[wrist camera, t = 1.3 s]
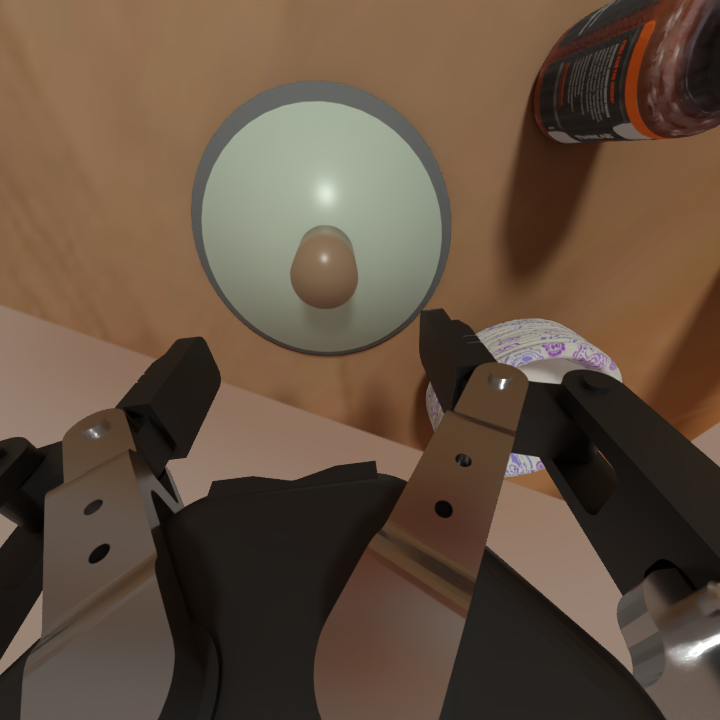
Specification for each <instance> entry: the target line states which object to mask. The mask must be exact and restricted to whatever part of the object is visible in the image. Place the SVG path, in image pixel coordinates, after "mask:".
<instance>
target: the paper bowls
mask: <svg viewBox="0 0 720 720" xmlns="http://www.w3.org/2000/svg"><path fill="white" fill-rule="evenodd" d="M475 335H477V337H478V338H479V339H480V340H481V342H482V343H483V344H484V345H485V347H486V348H487V349H488V350H489V352H490V353H491V354H492V355H493V357H494V358H495V359H496V360H497V362H498V363H504V364H508V365H511V366H514V367H516V368H518V369H519V370H521V371H522V372H523V373H524V374H525V375H526V376H527V378H528V381H534V382H543V383H554V384H561V381H562V379H563V376H564V375H565V374H566V373H567V372H569V371H572V370H577V369H586V370H593V371H598V372H601V373H604V374H607V375H610V376H612V377H614V378H615V379H617V380H619V381H620V382H621V383H622V378H621V374H620V372H619V369H618V368H617V365H616V364H615V363H614V362H613V361H612V359H611V358H610V357H608V356H607V355H606V354H605V353H603V352H602V351H601V350H599V349H598V348H597V347H595V346H593V345H592V344H591V343H589V342H588V341H586V340H585V339H583V338H582V337H581V336H579V335H578V334H576V333H575V332H573V331H572V330H570V329H568V328H566V327H565V326H564V325H562V324H559V323H557V322H553V321H550V320H545V319H520V320H512V321H510V322H509V321H507V322H505V323H503V324H502V323H501V324H498V325H495V326H492V327H489V328H486V329H484V330H483V331H480V332H478V333H476V334H475ZM426 406H427V411H428V414H429V418H430V421H431V424H432V426H433V429H434V432H435V431H436V429H437V427H438V425H439V423H440V421H441V419H442V418H443V416H444V413H443V411H442V408H441V406H440V404H439V401H438V399H437V397H436V394H435V392H434V390H433V387H432V385H431V383H430V382H429V385H428V388H427V392H426ZM544 468H545V467H544V465H543V463H542V462H541V460H540V458H539V457H534V456H527V455H521V454H514V453H511V454H510V457H509V461H508V465H507V468H506V472H505V476H504V477H512V476H518V475H523V474H528V473H532V472H536V471H539V470H542V469H544Z"/></svg>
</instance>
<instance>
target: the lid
mask: <svg viewBox="0 0 720 720" xmlns="http://www.w3.org/2000/svg"><path fill="white" fill-rule="evenodd" d="M201 219H202V236H203V242H204V247H205V252H206V256H207V259H208V262H209V265H210V268H211V270H212V272H213V275H214V277H215V279H216V281H217V283H218V285H219V287H220V288H221V290H222V292H223V293H224V295H225V296H226V298H227V299H228V300H229V302H230V303H231V304H232V305H233V307H234V308H235V309H236V310H237V311H238V312H239V313H240V314H241V315H242V316H243V317H244V318H245V319H246V320H247V321H248V322H250V323H251V324H252V325H253V326H254V327H256V328H257V329H259V330H260V331H262V332H263V333H265V334H266V335H268V336H270V337H272V338H274V339H276V340H278V341H280V342H282V343H285V344H287V345H290V346H293V347H297V348H301V349H305V350H311V351H320V352H335V351H345V350H351V349H355V348H359V347H362V346H366V345H368V344H370V343H373V342H375V341H377V340H379V339H381V338H383V337H385V336H386V335H388V334H389V333H391V332H392V331H394V330H395V329H396V328H398V327H399V326H400V325H401V324H402V323H403V322H405V321H406V320H407V319H408V318H409V317H410V316H411V314H412V313H413V312H414V311H415V310H416V309H417V307H418V306H419V304H420V303H421V301H422V300H423V299H424V297H425V295H426V293H427V291H428V289H429V287H430V286H431V283H432V281H433V278H434V275H435V273H436V270H437V266H438V262H439V258H440V251H441V243H442V224H441V216H440V208H439V204H438V200H437V196H436V193H435V190H434V187H433V185H432V182H431V180H430V177H429V175H428V173H427V171H426V170H425V168H424V166H423V164H422V163H421V161H420V159H419V158H418V156H417V155H416V154H415V152H414V151H413V150H412V149H411V147H410V146H409V145H408V144H407V143H406V142H405V141H404V140H403V139H402V138H401V137H400V136H399V135H398V134H397V133H396V132H395V131H394V130H393V129H391V128H390V127H389V126H387V125H386V124H384V123H383V122H382V121H380V120H379V119H377V118H375V117H373V116H371V115H369V114H367V113H365V112H363V111H361V110H359V109H356V108H352V107H349V106H346V105H343V104H338V103H331V102H324V101H313V102H299V103H294V104H289V105H284V106H281V107H279V108H276V109H274V110H271V111H269V112H266V113H264V114H262V115H261V116H259V117H258V118H256V119H254V120H253V121H251V122H249V123H248V124H247V125H246V126H245V127H244V128H242V129H241V130H240V131H239V132H238V133H237V134H236V135H234V137H233V138H232V139H231V140H230V142H229V143H228V144H227V145H226V147H225V148H224V149H223V150H222V152H221V154H220V156H219V157H218V159H217V161H216V162H215V164H214V166H213V168H212V171H211V174H210V176H209V179H208V181H207V185H206V189H205V193H204V198H203V205H202V218H201Z"/></svg>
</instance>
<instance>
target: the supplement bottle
mask: <svg viewBox="0 0 720 720" xmlns="http://www.w3.org/2000/svg"><path fill="white" fill-rule="evenodd" d="M534 114H535V119H536V122H537V125H538V127H539V129H540V130H541V132H542V133H543V134H544V135H545V136H546V137H547V138H549V139H551V140H552V141H554V142H558V143H568V144H573V143H576V144H579V143H594V142H608V141H633V140H656V139H670V138H680V137H688V136H692V135H696V134H699V133H703V132H705V131H707V130H710V129H712V128H715V127H717V126H718V125H720V0H615V1H613V2H611V3H609V4H607V5H605V6H604V7H602V8H600V9H599V10H596V11H595V12H593V13H591V14H589V15H588V16H586V17H585V18H583V19H582V20H580V21H579V22H577V23H576V24H574V25H573V26H572V27H571V28H570V29H568V30H567V31H566V32H565V33H564V34H563V35H562V37H561V38H560V39H559V40H558V41H557V43H556V44H555V45H554V47H553V48H552V50H551V51H550V53H549V55H548V57H547V58H546V60H545V62H544V64H543V66H542V68H541V71H540V73H539V76H538V79H537V84H536V88H535V94H534Z"/></svg>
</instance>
